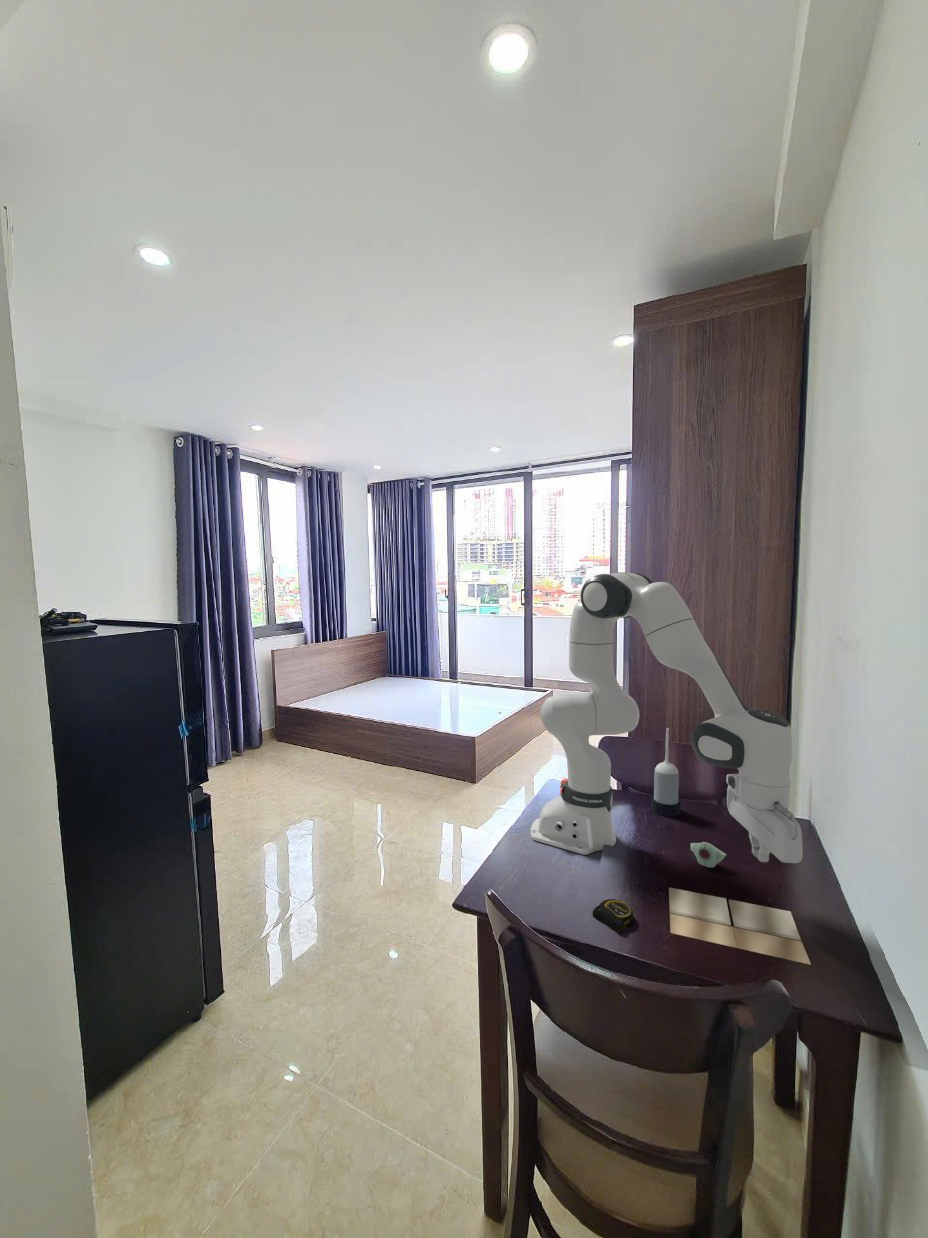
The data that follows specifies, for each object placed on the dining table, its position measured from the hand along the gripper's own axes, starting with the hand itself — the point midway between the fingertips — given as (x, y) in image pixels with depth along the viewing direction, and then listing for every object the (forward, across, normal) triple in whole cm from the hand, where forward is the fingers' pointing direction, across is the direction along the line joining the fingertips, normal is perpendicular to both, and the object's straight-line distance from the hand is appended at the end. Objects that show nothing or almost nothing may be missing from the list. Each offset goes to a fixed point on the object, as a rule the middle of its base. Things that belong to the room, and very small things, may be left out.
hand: (760, 858), depth 100 cm
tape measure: (+12, -4, +30) cm, 33 cm away
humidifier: (+14, +48, 0) cm, 50 cm away
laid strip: (+12, -9, +9) cm, 17 cm away
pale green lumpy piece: (+13, +16, +3) cm, 21 cm away
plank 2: (+12, -4, +1) cm, 12 cm away
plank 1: (+12, 0, +12) cm, 17 cm away
